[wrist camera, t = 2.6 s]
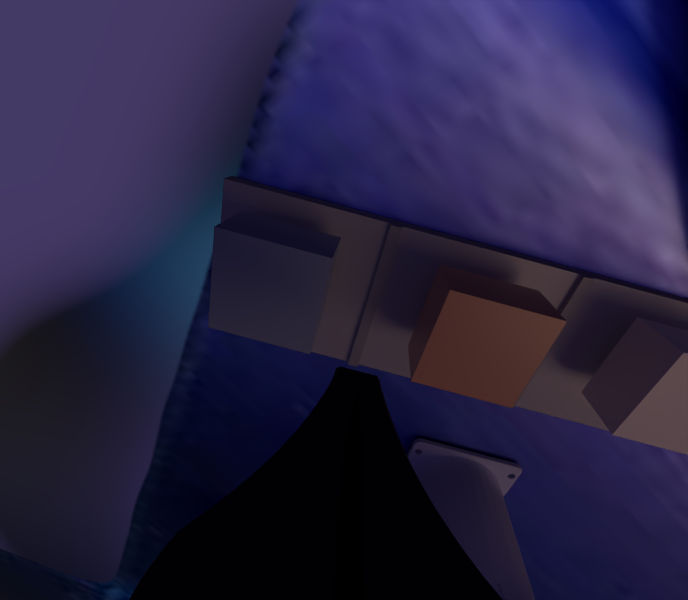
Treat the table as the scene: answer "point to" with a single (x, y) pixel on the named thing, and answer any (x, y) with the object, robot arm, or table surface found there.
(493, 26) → the table surface
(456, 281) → the terracotta key
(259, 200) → the console panel
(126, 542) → the table surface
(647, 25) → the table surface
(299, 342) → the grey square block
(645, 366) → the cream key
